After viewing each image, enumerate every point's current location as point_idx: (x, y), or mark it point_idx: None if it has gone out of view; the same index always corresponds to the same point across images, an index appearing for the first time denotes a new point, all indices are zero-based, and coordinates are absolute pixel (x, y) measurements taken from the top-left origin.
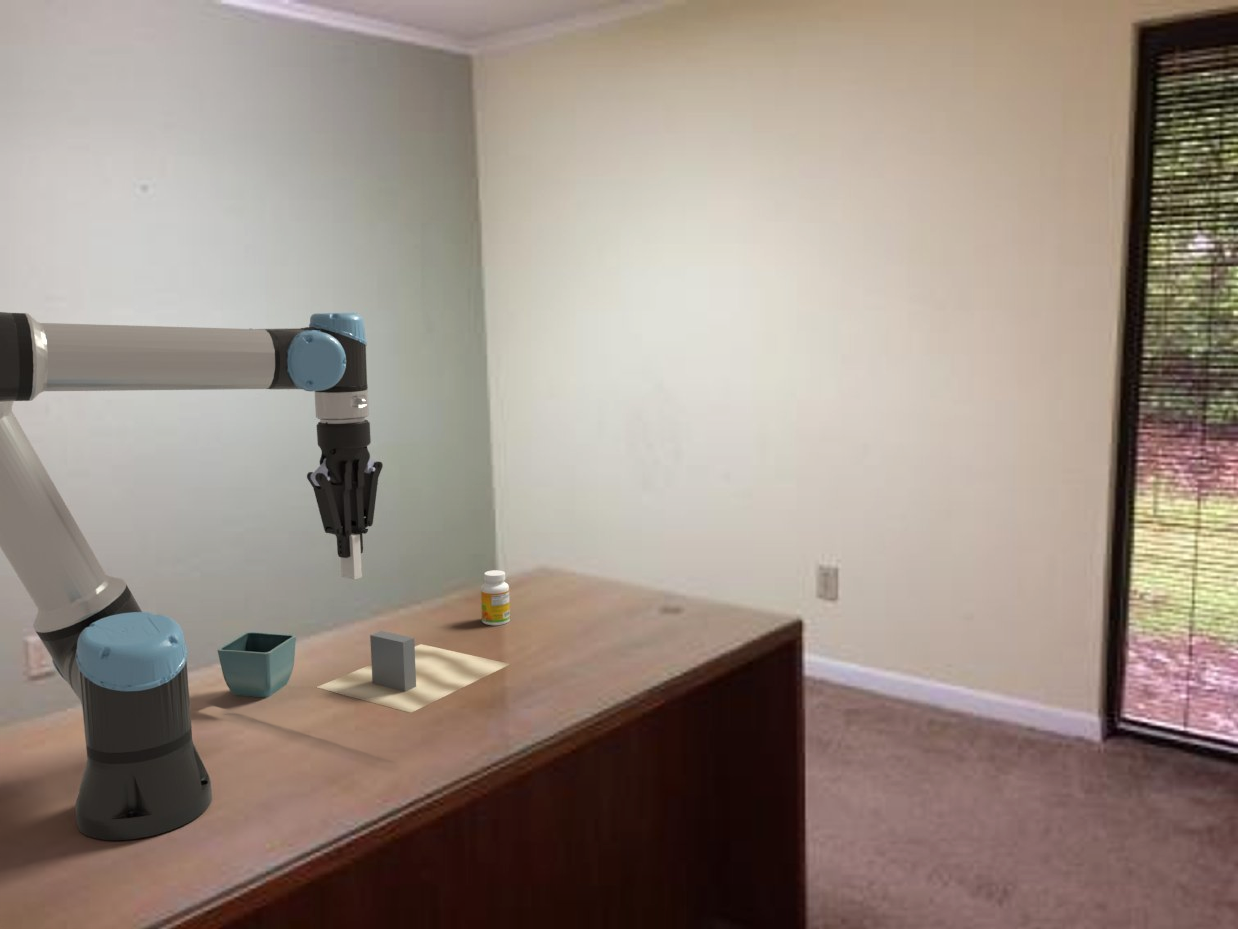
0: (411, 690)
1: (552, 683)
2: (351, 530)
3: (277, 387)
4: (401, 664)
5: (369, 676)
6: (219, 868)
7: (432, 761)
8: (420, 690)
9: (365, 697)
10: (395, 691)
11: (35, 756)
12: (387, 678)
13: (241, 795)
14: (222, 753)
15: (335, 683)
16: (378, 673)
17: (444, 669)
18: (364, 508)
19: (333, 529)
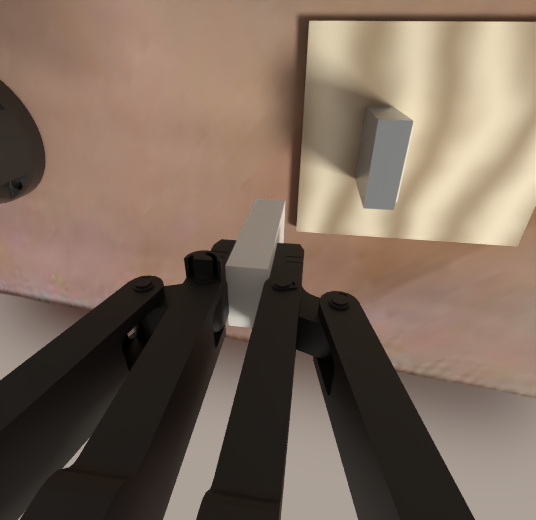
0: None
1: (475, 305)
2: (223, 339)
3: None
4: (359, 188)
5: (393, 74)
6: (13, 269)
7: None
8: None
9: (310, 141)
10: (350, 165)
11: None
12: (361, 146)
13: (68, 195)
14: (94, 84)
15: (339, 40)
16: (365, 125)
17: (465, 172)
18: (332, 393)
19: (130, 336)
